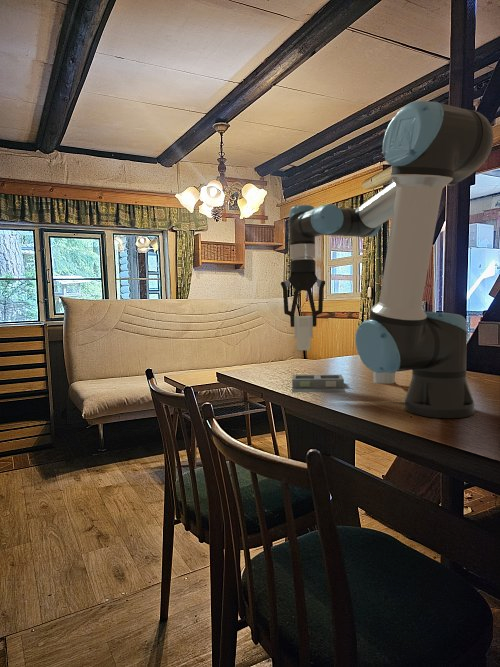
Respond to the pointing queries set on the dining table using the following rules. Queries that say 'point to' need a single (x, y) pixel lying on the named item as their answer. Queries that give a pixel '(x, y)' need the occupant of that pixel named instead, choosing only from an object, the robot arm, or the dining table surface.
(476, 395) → the dining table surface
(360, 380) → the dining table surface
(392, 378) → the cup
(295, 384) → the panel
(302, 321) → the plug
